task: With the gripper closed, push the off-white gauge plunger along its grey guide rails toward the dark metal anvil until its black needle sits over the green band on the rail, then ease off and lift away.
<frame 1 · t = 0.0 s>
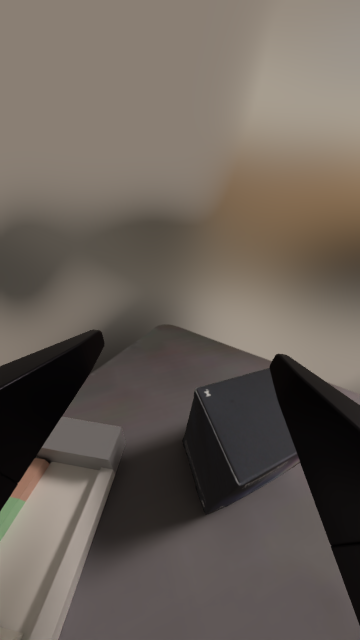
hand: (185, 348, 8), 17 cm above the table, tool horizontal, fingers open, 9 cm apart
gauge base: (28, 562, 11), on the table
small box: (232, 455, 17), on the table
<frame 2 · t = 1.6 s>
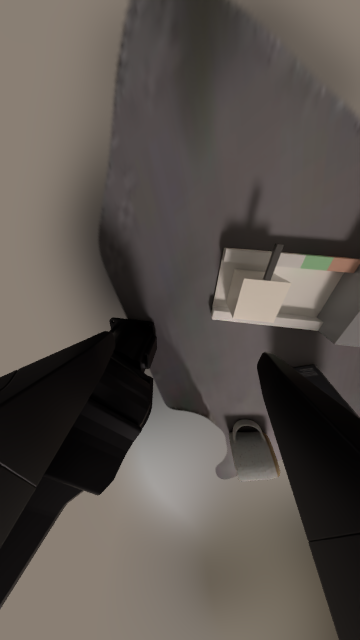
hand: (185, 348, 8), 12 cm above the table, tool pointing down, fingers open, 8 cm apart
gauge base: (281, 290, 17), on the table
gauge plunger: (257, 281, 15), point 2 cm above the table, slide at 0.0 cm
small box: (291, 386, 26), on the table
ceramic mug: (245, 429, 34), on the table
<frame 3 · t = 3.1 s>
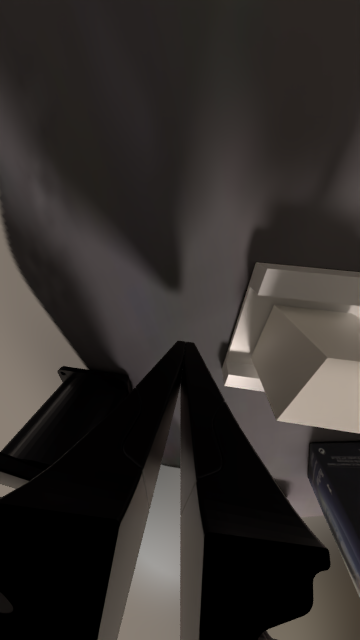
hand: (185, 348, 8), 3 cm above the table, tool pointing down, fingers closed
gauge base: (357, 342, 9), on the table
gauge plunger: (334, 340, 7), point 2 cm above the table, slide at 0.0 cm
small box: (335, 458, 18), on the table
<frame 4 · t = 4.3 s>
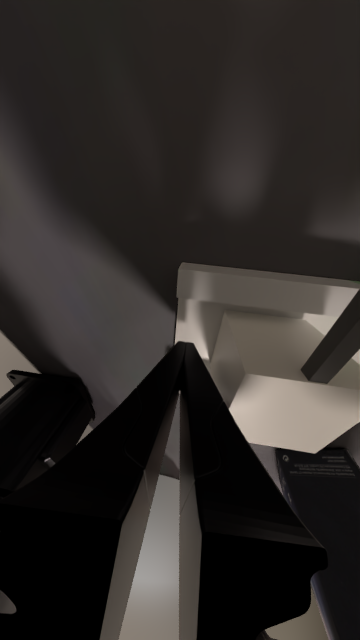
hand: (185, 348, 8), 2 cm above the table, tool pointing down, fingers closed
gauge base: (302, 347, 9), on the table
gauge plunger: (277, 350, 6), point 2 cm above the table, slide at 0.9 cm, touching gripper
small box: (304, 465, 17), on the table
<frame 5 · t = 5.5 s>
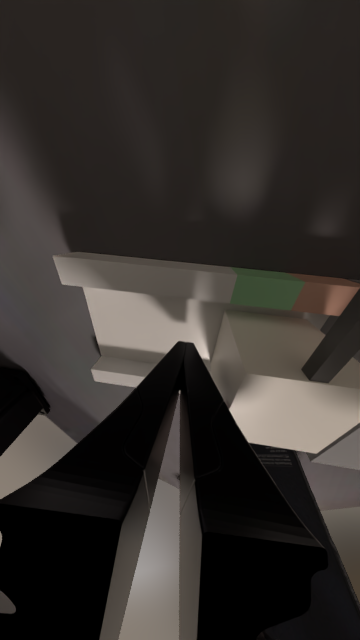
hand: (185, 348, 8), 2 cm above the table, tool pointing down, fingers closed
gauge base: (213, 335, 9), on the table
gauge plunger: (277, 350, 6), point 2 cm above the table, slide at 6.1 cm, touching gripper
small box: (259, 457, 17), on the table
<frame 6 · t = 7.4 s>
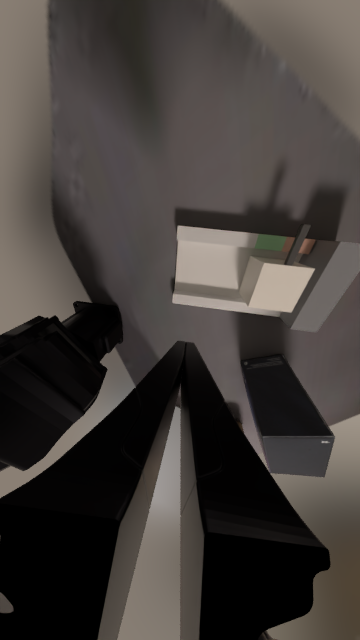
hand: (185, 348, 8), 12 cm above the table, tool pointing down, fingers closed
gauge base: (241, 274, 17), on the table
gauge plunger: (275, 268, 14), point 2 cm above the table, slide at 6.2 cm
small box: (262, 377, 25), on the table
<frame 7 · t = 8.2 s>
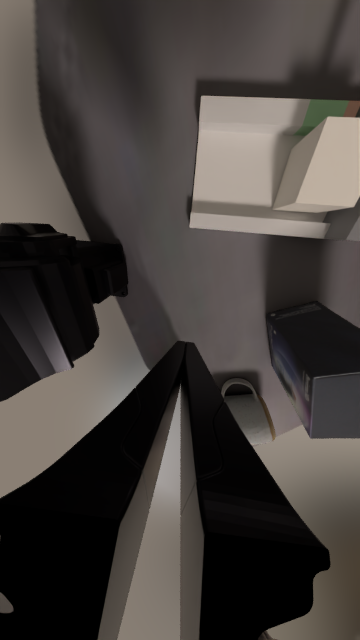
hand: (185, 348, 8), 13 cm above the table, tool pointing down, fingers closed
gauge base: (277, 183, 14), on the table
gauge plunger: (331, 149, 11), point 2 cm above the table, slide at 6.2 cm
small box: (289, 336, 22), on the table
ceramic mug: (236, 393, 30), on the table
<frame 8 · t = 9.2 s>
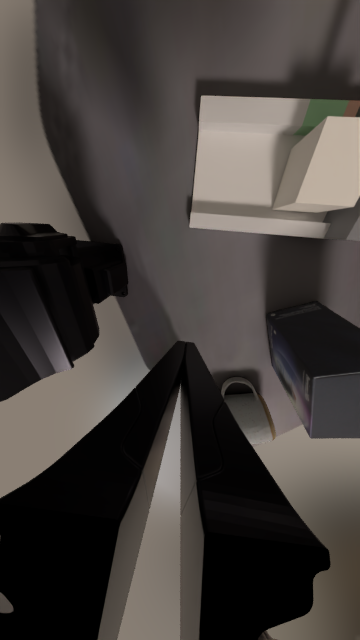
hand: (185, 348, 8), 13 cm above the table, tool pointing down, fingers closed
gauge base: (277, 182, 14), on the table
gauge plunger: (331, 149, 11), point 2 cm above the table, slide at 6.2 cm
small box: (289, 336, 22), on the table
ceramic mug: (236, 392, 30), on the table
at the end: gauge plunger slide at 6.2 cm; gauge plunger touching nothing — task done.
